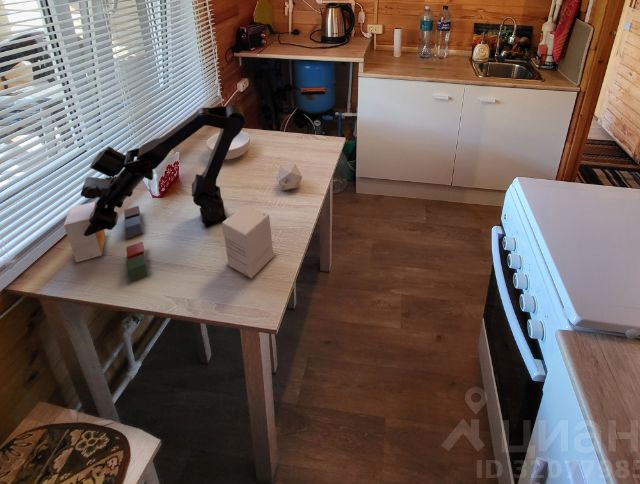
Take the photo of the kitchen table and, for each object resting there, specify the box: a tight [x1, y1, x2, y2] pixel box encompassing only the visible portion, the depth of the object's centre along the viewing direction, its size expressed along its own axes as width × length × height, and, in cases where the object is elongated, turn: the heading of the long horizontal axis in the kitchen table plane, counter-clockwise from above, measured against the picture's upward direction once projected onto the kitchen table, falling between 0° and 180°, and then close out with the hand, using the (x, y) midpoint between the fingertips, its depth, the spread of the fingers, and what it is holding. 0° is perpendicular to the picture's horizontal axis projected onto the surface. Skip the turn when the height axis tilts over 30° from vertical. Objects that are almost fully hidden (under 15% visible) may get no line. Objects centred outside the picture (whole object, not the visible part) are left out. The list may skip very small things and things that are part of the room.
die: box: [276, 163, 303, 191], centre depth 136 cm, size 8×9×10 cm
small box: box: [63, 201, 107, 263], centre depth 107 cm, size 8×6×13 cm
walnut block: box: [123, 205, 143, 224], centre depth 119 cm, size 4×4×4 cm
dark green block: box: [126, 254, 149, 283], centre depth 101 cm, size 4×4×4 cm
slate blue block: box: [124, 216, 144, 239], centre depth 115 cm, size 4×4×4 cm
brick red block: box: [125, 241, 147, 262], centre depth 105 cm, size 4×4×4 cm
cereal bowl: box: [206, 130, 251, 160], centre depth 156 cm, size 17×17×7 cm
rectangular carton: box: [221, 203, 275, 279], centre depth 103 cm, size 9×9×15 cm
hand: (89, 224), depth 107 cm, fingers open, 9 cm apart
